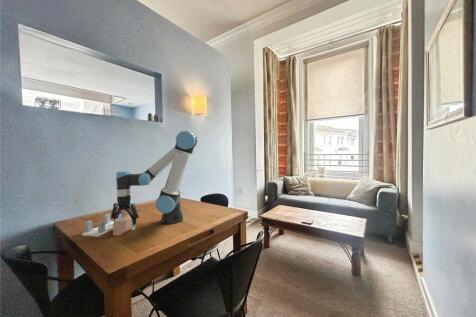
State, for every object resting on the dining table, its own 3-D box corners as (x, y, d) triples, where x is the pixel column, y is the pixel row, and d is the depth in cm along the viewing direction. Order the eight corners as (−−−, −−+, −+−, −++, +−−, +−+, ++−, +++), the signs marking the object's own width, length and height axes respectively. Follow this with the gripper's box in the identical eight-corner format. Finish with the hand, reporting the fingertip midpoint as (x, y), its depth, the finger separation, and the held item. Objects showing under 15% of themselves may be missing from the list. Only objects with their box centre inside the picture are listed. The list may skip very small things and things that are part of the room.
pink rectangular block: (135, 224, 138) (135, 214, 137) (119, 235, 120) (119, 224, 119) (129, 224, 138) (129, 214, 137) (113, 235, 120) (112, 224, 119)
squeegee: (131, 207, 178) (139, 208, 174) (132, 209, 178) (139, 210, 174) (97, 217, 152) (106, 219, 148) (98, 219, 152) (106, 221, 148)
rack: (124, 223, 140) (124, 213, 140) (97, 236, 118) (97, 224, 118) (111, 222, 142) (110, 212, 142) (81, 235, 120) (81, 223, 120)
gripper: (144, 194, 130) (145, 227, 130) (112, 193, 134) (113, 226, 134) (136, 197, 122) (137, 232, 123) (102, 196, 126) (104, 230, 127)
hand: (125, 229), depth 129 cm, fingers open, 11 cm apart
